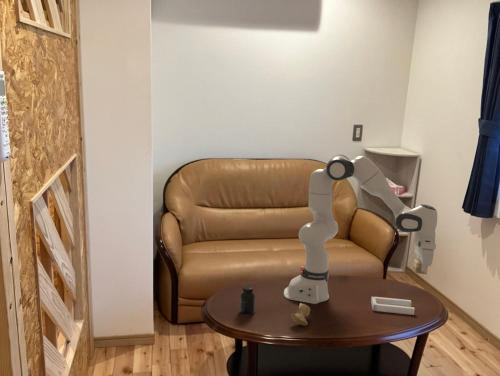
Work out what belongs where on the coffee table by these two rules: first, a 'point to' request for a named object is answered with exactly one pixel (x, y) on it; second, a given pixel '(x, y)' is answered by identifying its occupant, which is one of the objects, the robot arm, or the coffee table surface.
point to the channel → (392, 305)
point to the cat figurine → (301, 315)
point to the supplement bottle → (247, 300)
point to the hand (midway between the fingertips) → (421, 268)
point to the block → (419, 267)
